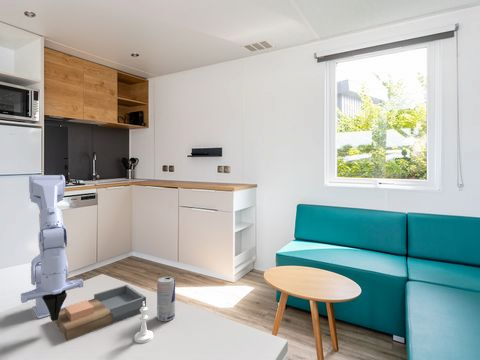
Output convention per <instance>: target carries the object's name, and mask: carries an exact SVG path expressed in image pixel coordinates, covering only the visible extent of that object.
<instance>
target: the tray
mask: <svg viewBox="0 0 480 360" xmlns="http://www.w3.org/2000/svg"><path fill="white" fill-rule="evenodd" d="M93 299H97V300H98V301H99V302H101V303H102V304H103V305H104V306H105V307H106V308H107V309H108V310H110V313H111V315H112V314H113V315H112V316H113V318H111V319H113V322H111V323H113V324H115V323H117V322H120V321H124V320H126V319H128V318H132V317H133V316H136V315H139V314H141V312H140V308H142V307H143V305H142V303H143V301H145V307H147V296H145V295H143V294H142V293H141V292H139V291H137V290H135V289H134V288H133V287H132V286H129V285H128V284H124V285H121V286H118V287H115V288H111V289H107V290H104V291H100V292H97V293H94V294H93ZM112 316H111V317H112ZM111 321H112V320H111Z"/></svg>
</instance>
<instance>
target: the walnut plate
mask: <svg viewBox="0 0 480 360" xmlns="http://www.w3.org/2000/svg"><path fill="white" fill-rule="evenodd" d="M87 301H88V302H89V303H90V304H91V305H92V306H93V307H94V314H91V315H88V316H85V317H82V318H79V319H76V320H73V321H70V319H69V318H68V317H67V316H66V314H65V308H62V309H60V312H59V317H58V320H55V321H53V322H54V324H55V326H56V327H57V328H58V330H59V331H60V332H61V333H62V335H63V336H64V338H65V340H66V341H67V342H68V341H71V340H73V339H75V338H78V337H81V336H83V335H86V334H89V333H91V332H93V331H97V330H99V329H102V328H105V327H107V326H110V325H113V324H114V323H111V322H113V319H111V318H113V316H112V315H113V314H112V315H111V313H110V310H108V309H107V308H106V307H105V306H104V305H103V304H102V303H101V302H99V301H98V300H97V299H94V298H91V299H88V300H87ZM111 316H112V317H111ZM111 320H112V321H111Z"/></svg>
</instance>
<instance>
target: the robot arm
mask: <svg viewBox="0 0 480 360" xmlns="http://www.w3.org/2000/svg"><path fill="white" fill-rule="evenodd" d="M28 176H29V175H28ZM65 177H66V176H65V175H63V174H59V175H58V174H57V175H55V174H53V175H52V174H50V175H48V174H47V175H46V174H45V175H44V174H43V175H41V174H39V175H38V174H36V175H33V174H31V175H30V176H29V177H28V187H29V188H28V191H29V192H28V193H29V199H30V202H31V203H34V204H36V205H37V206H38V209H39V213H38V217H39V218H38V220H39V221H38V223H39V231H38V239H37V241H38V249H39V254H38V255H36V256H35V257H33V259H32V260H31V264H30V284H31V285H32V286H35V288H34V289H32V290H29V291H25V292H21V293H20V302H21V304H25V303H28V301H33V300H35V305H33V306H32V307H31V309H32V311H33V312H34V314H35V315H36V317H37V319H42V318H45V317H48V316H49V317H50V320H51V322H54V321H55V320H58V317H59V312H60V309H62V308H65V307H66V306H67V305H66V304H65V301H66V299H67V296H68V294H67V292H66V291H69V290H73V289H77V288H79V289H81V288H84V280H83V279H82V278H79V279H74V280H67V278H69V262H68V257H67V255H66V248H67V247H68V241H69V240H68V238H69V237H68V230H67V226H66V225H65V224H64V218H63V211H62V210H61V209H60V208H58V203H59V202H61V201H63V200H64V198H65V197H64V196H65V191H66V178H65Z"/></svg>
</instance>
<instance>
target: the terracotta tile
mask: <svg viewBox="0 0 480 360" xmlns="http://www.w3.org/2000/svg"><path fill="white" fill-rule="evenodd" d="M65 314H66V316H67V317H68V318H69V319H70V321H73V320H76V319H79V318H82V317H85V316H88V315H91V314H94V307H93V306H92V305H91V304H90V303H89V302H88V300H87V299H85V300H83V301H79V302H77V303H76V302H75V303H73V304H69V305H66V307H65Z"/></svg>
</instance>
